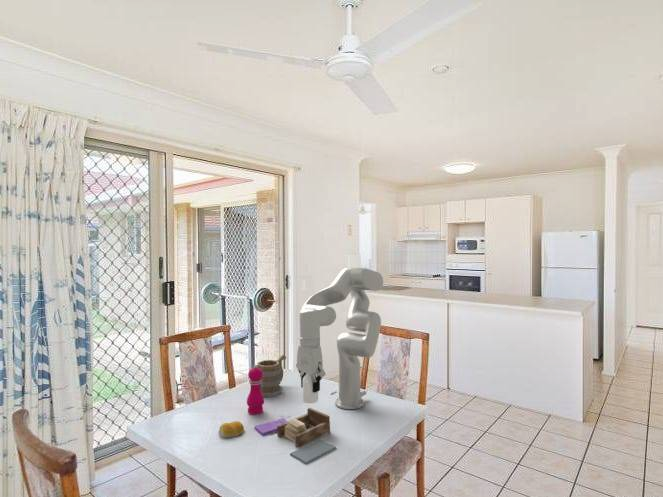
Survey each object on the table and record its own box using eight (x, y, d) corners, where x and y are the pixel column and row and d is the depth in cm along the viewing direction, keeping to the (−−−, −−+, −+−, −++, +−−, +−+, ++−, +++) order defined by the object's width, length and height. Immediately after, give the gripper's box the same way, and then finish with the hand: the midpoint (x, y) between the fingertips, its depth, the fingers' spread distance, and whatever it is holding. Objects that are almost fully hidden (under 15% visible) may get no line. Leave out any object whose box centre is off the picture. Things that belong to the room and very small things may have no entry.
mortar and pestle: (269, 399, 181) (269, 366, 181) (249, 393, 188) (249, 361, 188) (296, 386, 198) (296, 356, 198) (277, 381, 205) (277, 352, 205)
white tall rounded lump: (316, 366, 154) (319, 371, 148) (316, 396, 154) (320, 402, 148) (301, 367, 152) (303, 372, 146) (301, 398, 152) (304, 404, 147)
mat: (319, 440, 143) (319, 438, 143) (336, 448, 138) (336, 446, 138) (290, 455, 133) (290, 453, 133) (306, 464, 128) (306, 462, 128)
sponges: (291, 428, 153) (291, 424, 153) (261, 437, 146) (261, 432, 146) (283, 422, 159) (283, 417, 159) (254, 430, 152) (254, 425, 152)
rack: (309, 422, 158) (309, 407, 158) (329, 432, 150) (329, 416, 150) (277, 436, 146) (277, 420, 146) (297, 447, 138) (297, 430, 138)
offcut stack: (293, 432, 149) (293, 417, 149) (307, 439, 144) (307, 424, 144) (284, 436, 146) (284, 421, 146) (297, 444, 141) (297, 428, 141)
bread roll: (246, 434, 148) (246, 423, 148) (223, 440, 143) (223, 429, 143) (239, 425, 155) (239, 415, 155) (216, 431, 150) (216, 421, 150)
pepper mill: (266, 408, 171) (266, 362, 171) (261, 415, 164) (261, 367, 164) (249, 407, 172) (249, 361, 171) (244, 414, 164) (244, 366, 164)
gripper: (287, 339, 153) (288, 386, 154) (318, 348, 141) (319, 398, 142) (302, 336, 158) (302, 380, 159) (333, 344, 146) (333, 392, 147)
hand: (310, 388), depth 150 cm, fingers closed on white tall rounded lump, 5 cm apart
